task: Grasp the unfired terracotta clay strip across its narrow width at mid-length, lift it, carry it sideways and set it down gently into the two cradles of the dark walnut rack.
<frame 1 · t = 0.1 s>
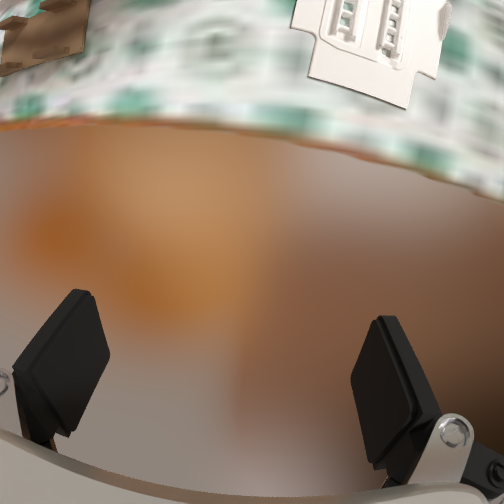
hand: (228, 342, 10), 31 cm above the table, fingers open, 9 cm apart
rack: (41, 38, 28), on the table
tray: (375, 4, 27), on the table
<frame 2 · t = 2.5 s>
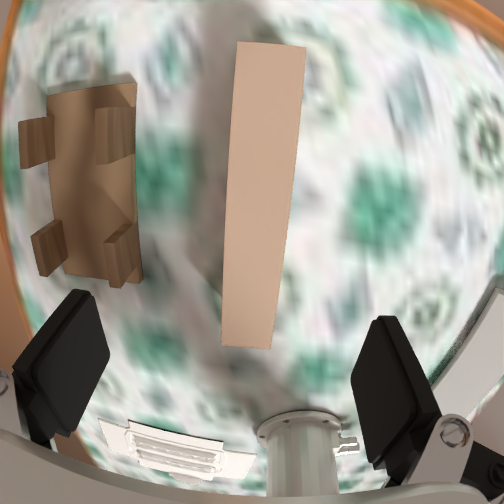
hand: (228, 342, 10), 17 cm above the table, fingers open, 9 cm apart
clay strip: (258, 193, 25), on the table
rack: (92, 187, 25), on the table
decorative molding: (449, 381, 36), on the table
tray: (175, 451, 46), on the table
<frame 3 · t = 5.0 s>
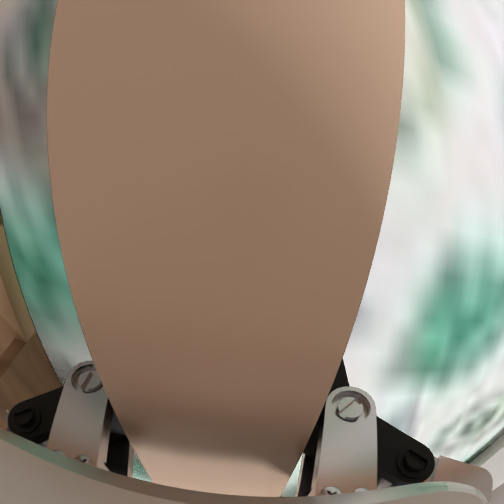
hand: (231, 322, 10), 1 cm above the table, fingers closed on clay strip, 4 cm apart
clay strip: (233, 309, 11), on the table, touching gripper
decorative molding: (477, 459, 23), on the table
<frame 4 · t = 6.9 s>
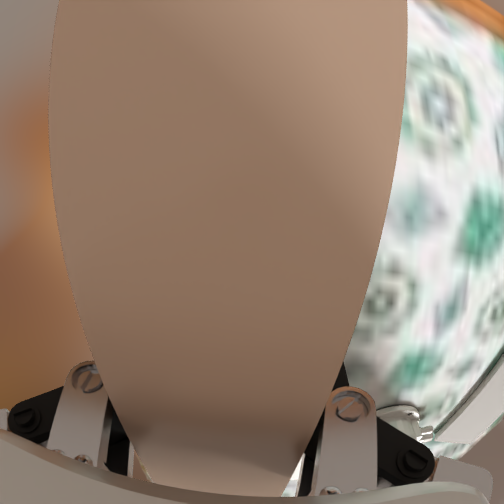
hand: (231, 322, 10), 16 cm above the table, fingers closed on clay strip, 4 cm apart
clay strip: (233, 308, 11), point 15 cm above the table, touching gripper
decorative molding: (500, 369, 35), on the table
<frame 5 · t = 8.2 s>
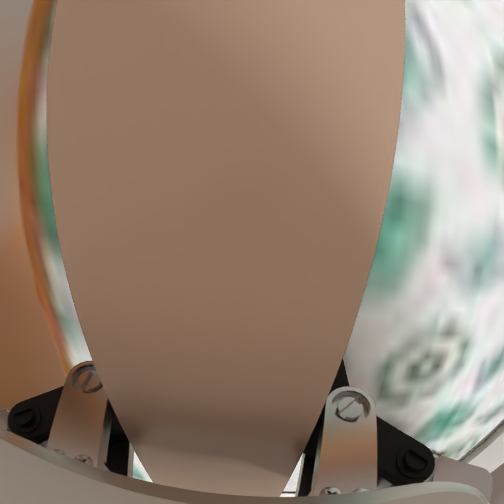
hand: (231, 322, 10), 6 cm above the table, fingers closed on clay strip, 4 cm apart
clay strip: (233, 307, 11), point 6 cm above the table, touching gripper
when the fingers open (3 cm above the table, at t = 9.2 s): clay strip drops 1 cm, resting on rack.
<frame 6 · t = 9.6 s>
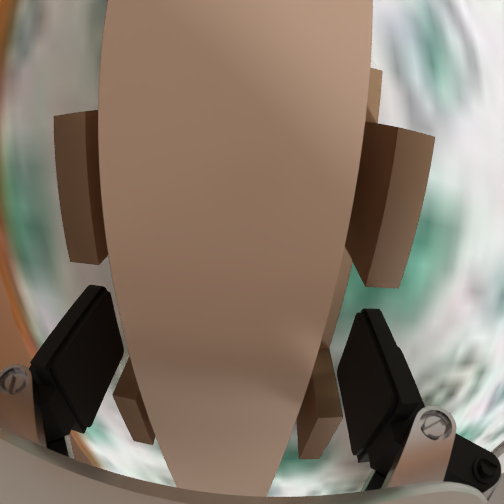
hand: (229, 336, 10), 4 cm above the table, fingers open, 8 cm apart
clay strip: (236, 290, 12), point 1 cm above the table, touching rack
rack: (237, 276, 13), on the table
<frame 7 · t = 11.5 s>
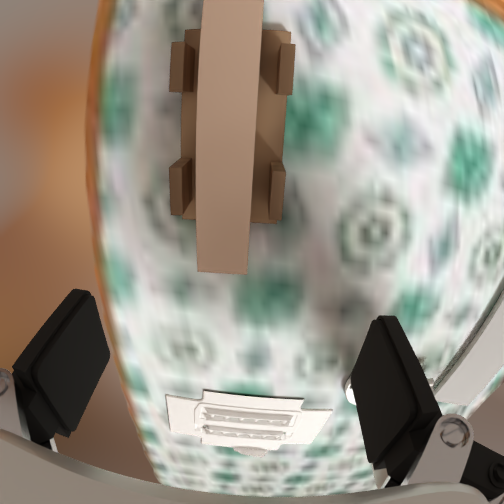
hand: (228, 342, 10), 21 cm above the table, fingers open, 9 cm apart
clay strip: (232, 125, 25), point 1 cm above the table, touching rack
rack: (233, 124, 26), on the table
decorative molding: (494, 323, 38), on the table
tray: (246, 421, 49), on the table
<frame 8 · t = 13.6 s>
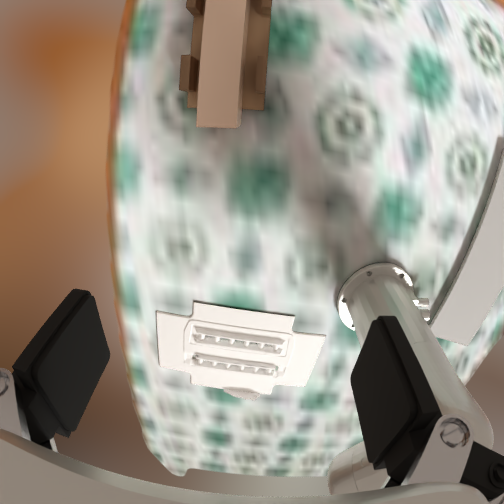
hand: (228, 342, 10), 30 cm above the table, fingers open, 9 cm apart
clay strip: (230, 37, 29), point 1 cm above the table, touching rack
rack: (230, 39, 30), on the table
decorative molding: (483, 249, 41), on the table
tray: (237, 350, 52), on the table
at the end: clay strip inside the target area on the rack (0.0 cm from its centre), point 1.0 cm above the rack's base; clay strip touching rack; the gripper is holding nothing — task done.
